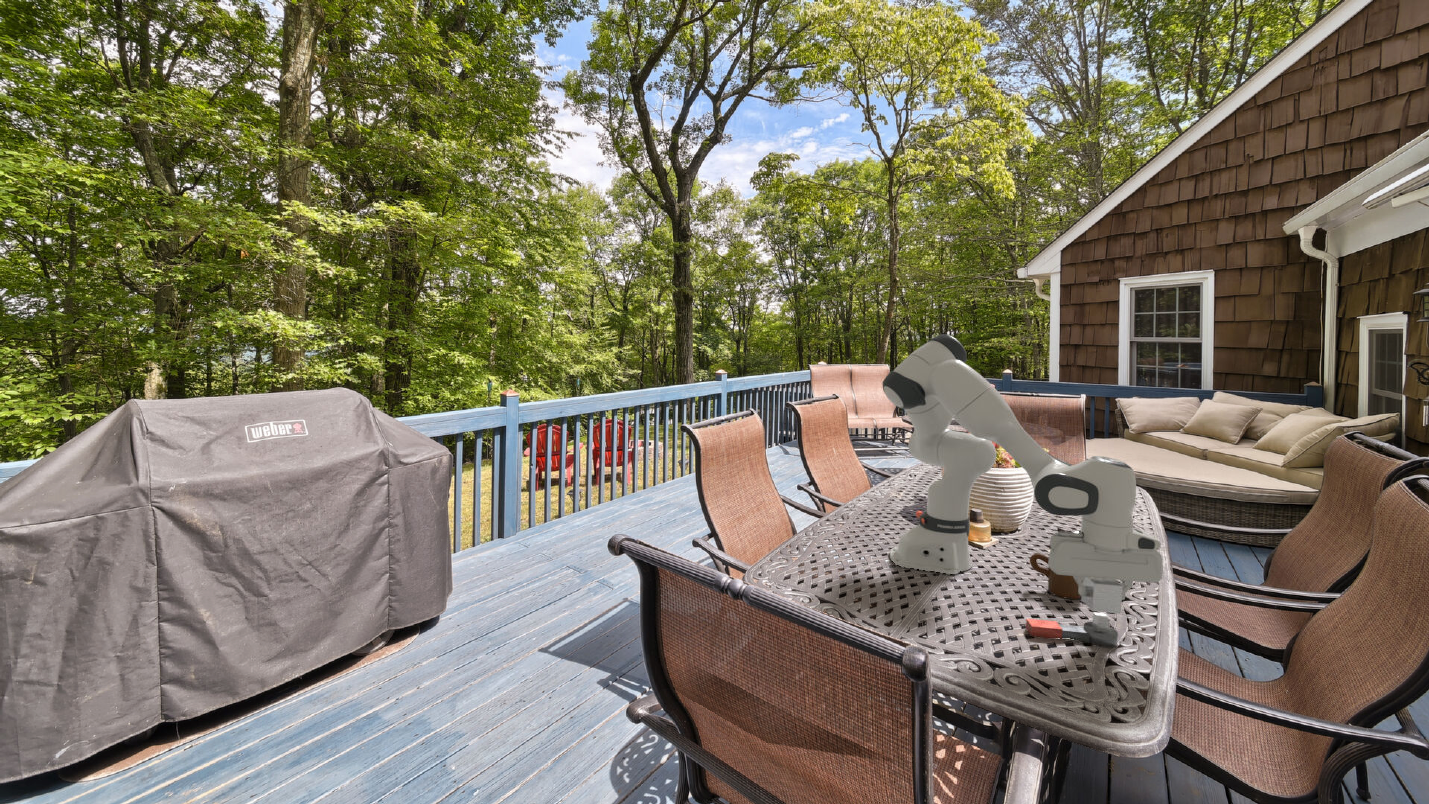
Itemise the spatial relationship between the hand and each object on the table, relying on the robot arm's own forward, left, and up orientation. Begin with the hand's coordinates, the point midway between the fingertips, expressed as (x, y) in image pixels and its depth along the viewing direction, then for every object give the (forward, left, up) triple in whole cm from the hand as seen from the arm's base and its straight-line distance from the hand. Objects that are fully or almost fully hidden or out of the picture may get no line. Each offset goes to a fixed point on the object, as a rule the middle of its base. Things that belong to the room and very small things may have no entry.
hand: (1101, 597), depth 115 cm
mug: (+1, +24, -10) cm, 26 cm away
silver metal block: (0, 0, -2) cm, 2 cm away
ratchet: (-5, 0, -10) cm, 11 cm away
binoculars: (+12, +46, -10) cm, 49 cm away
